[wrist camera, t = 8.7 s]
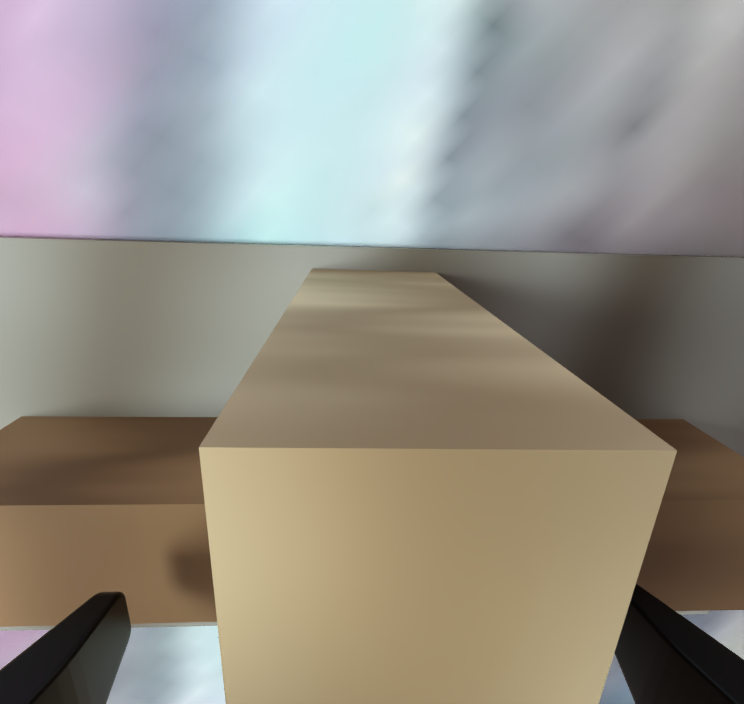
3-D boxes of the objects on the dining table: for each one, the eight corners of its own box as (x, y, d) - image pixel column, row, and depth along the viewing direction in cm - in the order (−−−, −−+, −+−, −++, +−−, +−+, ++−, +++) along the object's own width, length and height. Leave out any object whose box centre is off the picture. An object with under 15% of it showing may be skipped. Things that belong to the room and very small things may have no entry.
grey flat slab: (826, 259, 11) (1065, 284, 7) (699, 603, 15) (814, 733, 11) (-148, 232, 10) (-454, 246, 6) (-12, 619, 14) (-148, 773, 10)
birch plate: (435, 272, 10) (676, 450, 3) (406, 610, 14) (475, 1099, 6) (311, 268, 10) (198, 447, 3) (314, 612, 14) (269, 1117, 6)
